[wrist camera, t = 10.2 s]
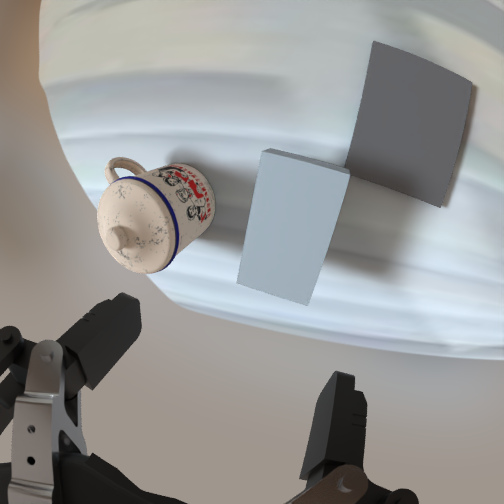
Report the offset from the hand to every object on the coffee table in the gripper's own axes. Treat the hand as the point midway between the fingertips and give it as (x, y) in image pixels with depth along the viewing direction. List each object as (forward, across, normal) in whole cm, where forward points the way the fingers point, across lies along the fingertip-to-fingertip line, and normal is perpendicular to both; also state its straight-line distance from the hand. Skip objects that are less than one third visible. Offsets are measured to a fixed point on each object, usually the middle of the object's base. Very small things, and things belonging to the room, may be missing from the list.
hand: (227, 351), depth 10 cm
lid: (+15, 0, 0) cm, 15 cm away
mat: (+20, -8, -11) cm, 24 cm away
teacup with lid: (+20, +14, +2) cm, 25 cm away
